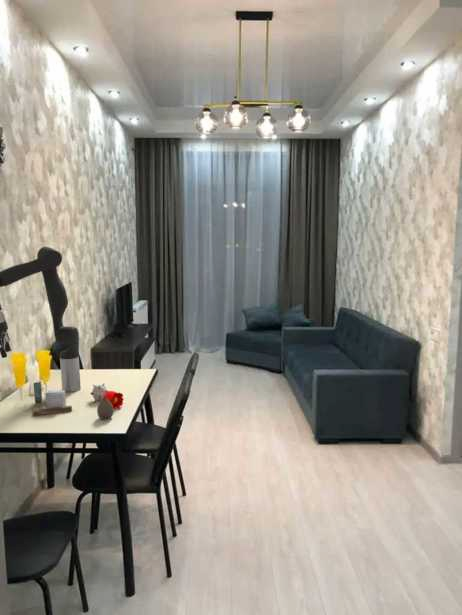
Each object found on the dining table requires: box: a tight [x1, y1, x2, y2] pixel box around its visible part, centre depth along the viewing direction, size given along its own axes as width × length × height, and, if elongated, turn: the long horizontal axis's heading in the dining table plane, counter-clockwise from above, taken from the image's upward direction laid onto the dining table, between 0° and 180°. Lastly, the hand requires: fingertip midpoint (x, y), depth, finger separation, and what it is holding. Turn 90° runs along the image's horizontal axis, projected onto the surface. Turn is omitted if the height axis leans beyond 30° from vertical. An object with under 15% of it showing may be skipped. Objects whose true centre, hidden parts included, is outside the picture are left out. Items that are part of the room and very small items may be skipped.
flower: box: [103, 390, 125, 410], centre depth 233 cm, size 8×8×8 cm
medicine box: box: [44, 389, 67, 408], centre depth 230 cm, size 8×4×9 cm, turn 89°
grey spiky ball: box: [90, 383, 109, 403], centre depth 242 cm, size 9×8×10 cm
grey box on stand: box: [33, 381, 73, 416], centre depth 233 cm, size 18×17×10 cm
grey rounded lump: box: [96, 398, 115, 421], centre depth 218 cm, size 7×7×9 cm
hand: (6, 354), depth 232 cm, fingers open, 8 cm apart
